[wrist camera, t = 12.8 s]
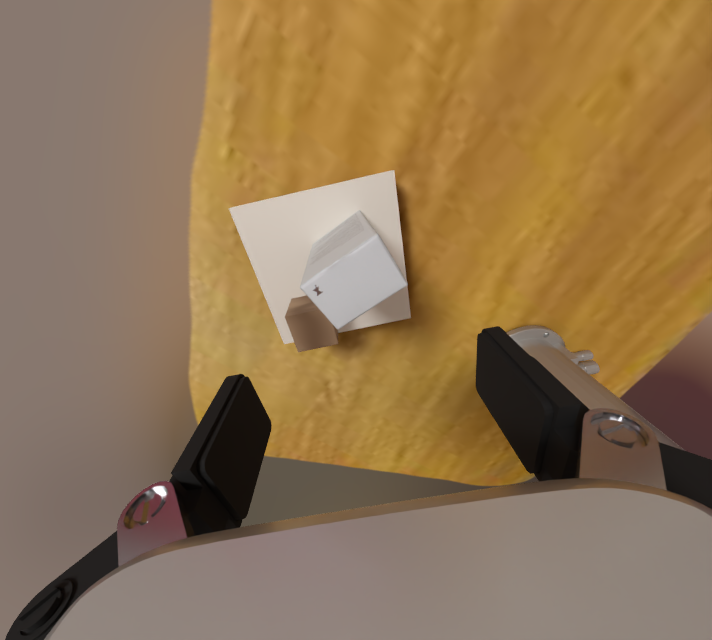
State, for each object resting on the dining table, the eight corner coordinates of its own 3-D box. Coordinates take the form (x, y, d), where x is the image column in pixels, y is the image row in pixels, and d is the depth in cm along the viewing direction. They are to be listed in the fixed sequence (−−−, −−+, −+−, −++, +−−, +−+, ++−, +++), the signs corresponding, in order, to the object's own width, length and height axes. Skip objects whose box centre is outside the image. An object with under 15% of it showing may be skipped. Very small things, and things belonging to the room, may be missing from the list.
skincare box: (336, 275, 29) (335, 333, 19) (311, 243, 27) (295, 286, 17) (383, 243, 28) (411, 286, 17) (360, 207, 26) (376, 230, 15)
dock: (388, 170, 27) (394, 170, 25) (405, 307, 35) (411, 317, 32) (239, 205, 28) (228, 208, 25) (288, 331, 36) (284, 344, 33)
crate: (329, 290, 30) (327, 307, 26) (338, 323, 32) (338, 344, 28) (291, 298, 30) (284, 316, 26) (302, 330, 32) (298, 352, 28)
